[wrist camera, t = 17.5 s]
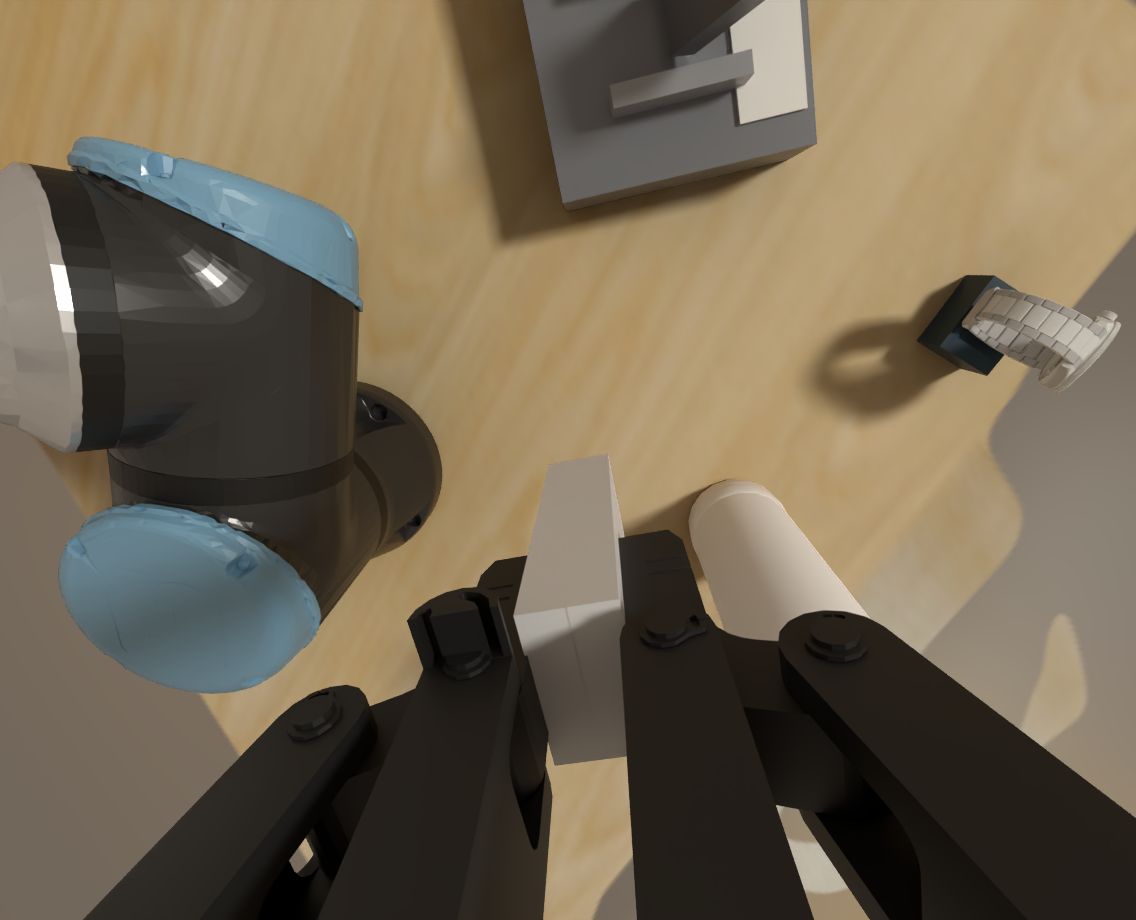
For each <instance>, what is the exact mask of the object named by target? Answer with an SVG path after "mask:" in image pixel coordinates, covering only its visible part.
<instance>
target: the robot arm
mask: <svg viewBox="0 0 1136 920" xmlns="http://www.w3.org/2000/svg"><path fill="white" fill-rule="evenodd" d="M67 161H68V165H70V166H71V169H72V170H74V171H67V170H61V169H55V168H49V167H44V166H38V165H32V164H27V163H20V162H13V163H11V164H10V165H8V166H7V167H6V168H4V169H3V170H1V171H0V423H3V424H7V425H11V426H15V427H17V428H19V429H20V430H22V431H24V432H26V433H28V434H29V435H31V436H33V437H35V438H36V439H38V440H40V441H42V442H43V443H45V444H47V445H49V446H51V447H52V448H54V449H56V450H58V451H60V452H82V451H92V450H102V449H107V454H108V463H109V471H110V483H111V491H112V503H113V504H112V507H111V508H108V509H105V510H103V511H101V512H99V513H97V514H95V515H93V516H91V517H90V518H89V519H87V520H86V521H85V523H84V524H83V525H82V528H81V529H80V531H79V533H78V534H77V535H75V536H74V537H73V538H71V539H70V540H69V541H68V543H67V544H66V546H65V548H64V550H63V552H62V554H61V558H60V562H59V571H58V579H59V586H60V591H61V594H62V597H63V600H64V602H65V605H66V607H67V609H68V611H69V613H70V615H71V617H72V618H73V620H74V621H75V623H76V624H77V626H78V627H79V628H80V629H81V631H82V632H83V633H84V635H85V636H86V637H87V638H88V639H89V640H90V641H91V642H92V643H93V644H94V645H95V646H96V647H97V648H99V649H100V651H102V652H103V653H104V654H105V655H107V656H109V657H111V658H113V659H114V660H116V661H117V662H118V663H120V664H121V665H122V666H123V667H124V668H126V669H127V670H129V671H131V672H133V673H134V674H136V675H138V676H140V677H142V678H145V679H147V680H149V681H152V682H155V683H157V684H160V685H163V686H166V687H170V688H173V689H178V690H182V691H187V692H195V693H209V694H214V693H228V692H235V691H240V690H244V689H247V688H250V687H253V686H256V685H258V684H260V683H261V682H263V681H265V680H267V679H269V678H270V677H272V676H273V675H275V674H277V673H278V672H279V671H280V670H281V669H283V668H284V667H285V666H286V665H287V664H288V663H289V662H290V661H291V660H292V659H293V658H294V657H295V656H296V655H297V654H298V653H299V652H300V651H301V650H302V649H303V648H305V647H306V646H307V645H308V644H309V643H310V642H311V641H312V639H313V638H314V637H315V636H316V635H317V633H316V632H317V631H318V630H319V626H320V625H321V624H322V622H323V621H324V620H325V618H326V617H327V616H328V614H329V613H330V612H331V610H332V609H333V608H334V606H335V605H336V604H337V602H338V601H339V600H340V599H341V597H342V596H343V595H344V593H345V592H346V591H347V589H348V588H349V587H350V585H351V584H352V583H353V581H354V580H355V579H356V578H357V576H358V575H359V574H360V572H361V571H362V570H363V568H364V567H365V566H366V564H367V563H368V562H369V560H370V559H373V558H375V557H378V556H380V555H382V554H385V553H387V552H390V551H392V550H394V549H396V548H398V547H400V546H401V545H403V544H404V543H406V542H407V541H408V540H409V539H411V538H412V537H413V536H414V535H415V534H416V533H417V532H418V531H419V530H420V529H421V527H422V526H423V525H424V523H425V522H426V520H427V519H428V517H429V516H430V514H431V513H432V511H433V509H434V507H435V505H436V503H437V500H438V497H439V494H440V490H441V484H442V466H441V459H440V455H439V451H438V448H437V445H436V443H435V440H434V438H433V436H432V434H431V432H430V431H429V429H428V427H427V426H426V424H425V423H424V422H423V420H422V419H421V418H420V417H419V415H418V414H417V413H416V412H415V411H414V410H413V409H412V408H411V407H410V406H408V405H407V404H406V403H405V402H404V401H402V400H401V399H399V398H398V397H396V396H395V395H393V394H391V393H390V392H388V391H386V390H384V389H381V388H379V387H376V386H374V385H370V384H367V383H362V382H357V364H358V336H359V312H362V311H363V302H362V300H361V298H360V297H359V259H358V244H357V240H356V237H355V235H354V233H353V231H352V229H351V228H350V226H349V225H348V224H347V223H346V222H345V220H344V219H342V218H341V217H340V216H339V215H338V214H336V213H335V212H333V211H332V210H330V209H328V208H326V207H324V206H322V205H320V204H318V203H316V202H313V201H311V200H309V199H306V198H304V197H301V196H298V195H296V194H293V193H290V192H288V191H285V190H282V189H280V188H277V187H274V186H271V185H268V184H265V183H262V182H259V181H256V180H253V179H251V178H247V177H244V176H241V175H238V174H235V173H232V172H229V171H225V170H222V169H219V168H216V167H212V166H209V165H206V164H202V163H198V162H195V161H191V160H188V159H184V158H173V157H171V156H169V155H167V154H163V153H159V152H154V151H151V150H148V149H145V148H142V147H140V146H137V145H133V144H129V143H124V142H120V141H115V140H110V139H105V138H99V137H82V138H80V139H78V140H76V141H75V142H74V145H73V149H72V151H71V152H70V153H69V154H68V155H67ZM407 622H408V625H409V628H410V631H411V634H412V637H413V640H414V643H415V646H416V649H417V651H418V654H419V657H420V660H421V663H422V666H423V669H424V670H423V672H422V674H421V677H420V679H419V681H418V684H417V686H416V688H415V689H413V690H411V691H409V692H407V693H404V694H402V695H399V696H397V697H394V698H391V699H389V700H386V701H383V702H380V703H378V704H375V705H372V706H369V704H368V701H367V698H366V696H365V694H364V693H363V692H362V691H361V690H360V689H359V688H357V687H353V686H349V685H342V686H334V687H329V688H325V689H322V690H321V691H316V692H314V693H311V694H309V695H308V696H307V697H305V698H304V699H302V700H300V701H298V702H297V703H295V704H293V705H292V706H291V707H290V708H289V709H288V710H286V711H285V712H284V713H283V714H282V715H280V716H279V717H278V718H277V719H276V720H275V721H274V722H273V723H272V724H271V725H270V726H269V727H268V729H267V730H266V731H265V732H264V733H263V734H262V735H261V736H260V737H259V738H258V739H257V740H256V741H255V742H254V743H253V744H252V745H251V746H250V747H249V748H248V749H247V750H246V751H245V752H244V753H243V754H242V755H241V756H240V758H239V759H238V760H237V761H236V762H235V763H234V764H233V765H232V766H231V767H230V768H229V769H228V770H227V771H226V772H225V773H224V774H223V775H222V776H221V777H220V778H219V779H218V780H217V781H216V782H215V783H214V785H213V786H212V787H211V788H210V789H209V790H208V791H207V792H206V793H205V794H204V795H203V796H202V797H201V798H200V799H199V800H198V801H197V802H196V803H195V804H194V805H193V806H192V807H191V808H190V810H188V811H187V813H185V815H184V816H183V817H182V818H181V819H180V820H179V821H178V822H177V823H176V824H175V825H174V826H173V827H172V828H171V829H170V830H169V831H168V832H167V833H166V834H165V835H164V836H163V837H162V838H161V839H160V840H159V841H158V843H157V844H156V845H155V846H154V847H153V848H152V849H151V850H150V851H149V852H148V853H147V854H146V855H145V856H144V857H143V858H142V859H141V860H140V861H139V862H138V863H137V865H135V866H134V868H132V869H131V871H130V872H129V873H128V874H127V875H126V876H125V877H124V878H123V879H122V880H121V881H120V882H119V883H118V884H117V885H116V886H115V887H114V888H113V889H112V890H111V891H110V892H109V893H108V894H107V895H106V896H105V897H104V899H103V900H102V901H101V902H100V903H99V904H98V905H97V906H96V907H95V908H94V909H93V910H92V911H91V912H90V913H89V914H88V915H87V916H86V917H85V918H84V919H83V920H543V913H544V900H545V887H546V874H547V861H548V848H549V835H550V822H551V809H552V790H551V783H550V780H549V776H548V773H547V769H546V766H545V764H546V754H547V744H548V743H549V746H550V750H551V754H552V757H553V761H554V764H555V765H563V764H571V763H579V762H586V761H594V760H602V759H610V758H618V757H625V756H627V767H628V783H629V799H630V815H631V831H632V847H633V863H634V879H635V895H636V910H637V920H814V918H813V915H812V912H811V909H810V906H809V903H808V900H807V897H806V894H805V891H804V888H803V885H802V882H801V879H800V876H799V873H798V870H797V867H796V864H795V861H794V858H793V855H792V852H791V849H790V846H789V843H788V840H787V837H786V834H785V831H784V828H783V825H782V822H781V819H780V816H779V813H778V810H777V807H776V805H779V806H785V807H790V808H796V809H799V811H800V813H801V816H802V818H803V820H804V822H805V823H806V825H807V826H808V828H809V829H810V831H811V832H812V834H813V835H814V837H815V838H816V840H817V841H818V843H819V844H820V846H821V847H822V849H823V850H824V852H825V853H826V855H827V856H828V858H829V859H830V861H831V862H832V864H833V865H834V867H835V868H836V870H837V871H838V873H839V874H840V876H841V877H842V879H843V880H844V882H845V883H846V885H847V886H848V888H849V889H850V891H851V892H852V894H853V895H854V897H855V898H856V900H857V901H858V903H859V904H860V906H861V907H862V909H863V910H864V911H865V913H866V915H867V916H868V917H869V919H870V920H1136V818H1135V817H1134V816H1132V815H1131V814H1130V813H1128V812H1127V811H1126V810H1124V809H1123V808H1122V807H1121V806H1119V805H1118V804H1116V803H1115V802H1114V801H1113V800H1111V799H1110V798H1109V797H1107V796H1106V795H1105V794H1103V793H1102V792H1101V791H1100V790H1098V789H1097V788H1096V787H1094V786H1093V785H1092V784H1090V783H1089V782H1088V781H1086V780H1085V779H1083V778H1082V777H1081V776H1080V775H1078V774H1077V773H1076V772H1074V771H1073V770H1072V769H1071V768H1069V767H1068V766H1067V765H1065V764H1064V763H1062V762H1061V761H1060V760H1059V759H1057V758H1056V757H1055V756H1054V755H1052V754H1051V753H1050V752H1048V751H1047V750H1046V749H1044V748H1043V747H1042V746H1040V745H1039V744H1038V743H1036V742H1035V741H1034V740H1032V739H1031V738H1030V737H1029V736H1027V735H1026V734H1025V733H1023V732H1022V731H1021V730H1019V729H1018V728H1017V727H1015V726H1014V725H1013V724H1011V723H1010V722H1009V721H1008V720H1006V719H1005V718H1004V717H1002V716H1001V715H999V714H998V713H997V712H996V711H994V710H993V709H992V708H990V707H989V706H988V705H986V704H985V703H984V702H983V701H981V700H980V699H979V698H977V697H976V696H975V695H973V694H972V693H971V692H969V691H968V690H967V689H965V688H964V687H963V686H962V685H960V684H959V683H958V682H956V681H955V680H954V679H952V678H951V677H950V676H948V675H947V674H946V673H944V672H943V671H942V670H940V669H939V668H938V667H936V666H935V665H934V664H932V663H931V662H930V661H928V660H927V659H926V658H924V657H923V656H922V655H921V654H919V653H918V652H917V651H916V650H914V649H913V648H912V647H910V646H909V645H908V644H906V643H905V642H904V641H902V640H901V639H900V638H898V637H897V636H896V635H894V634H893V633H892V632H891V631H889V630H888V629H887V628H885V627H884V626H882V625H880V624H879V623H877V622H875V621H873V620H871V619H869V618H868V617H865V616H862V615H858V614H854V613H850V612H846V611H831V610H822V611H816V612H810V613H804V614H802V615H800V616H798V617H796V618H794V619H792V620H790V621H788V622H787V623H786V625H785V626H784V627H783V628H782V629H781V630H780V632H779V640H778V641H770V640H756V639H749V638H742V637H739V636H736V635H733V634H730V633H727V632H725V631H724V630H722V629H720V628H718V627H717V626H716V625H715V623H714V622H713V621H712V619H711V618H710V616H709V615H708V614H706V612H705V608H704V605H703V602H702V599H701V596H700V593H699V590H698V587H697V584H696V581H695V578H694V575H693V571H692V568H691V565H690V562H689V559H688V556H687V553H686V550H685V547H684V544H683V541H682V539H680V538H679V537H678V536H676V535H675V534H673V533H672V532H670V531H669V530H663V531H657V532H651V533H645V534H640V535H634V536H628V537H624V531H623V526H622V521H621V516H620V511H619V506H618V501H617V496H616V491H615V486H614V481H613V476H612V471H611V466H610V461H609V456H608V454H603V455H598V456H592V457H587V458H582V459H576V460H571V461H565V462H560V463H555V464H549V466H548V471H547V475H546V479H545V483H544V488H543V492H542V496H541V500H540V505H539V509H538V513H537V517H536V522H535V526H534V530H533V534H532V539H531V543H530V547H529V552H528V555H527V556H521V557H515V558H509V559H503V560H498V561H495V562H494V563H493V564H492V565H491V566H490V567H489V568H488V569H487V570H486V571H485V572H484V573H483V574H482V575H481V577H480V580H479V582H478V585H477V587H473V588H461V589H457V590H454V591H450V592H446V593H444V594H441V595H439V596H437V597H435V598H433V599H431V600H429V601H427V602H426V603H425V604H423V605H422V606H420V607H419V608H418V609H416V610H415V611H414V613H413V614H412V615H411V616H410V618H409V619H408V620H407ZM305 838H306V839H307V841H308V843H309V845H310V848H311V850H312V852H313V854H314V855H313V856H312V858H311V859H310V861H309V862H308V863H307V864H306V865H305V866H304V867H303V868H302V869H301V870H300V871H299V872H298V873H296V872H294V870H293V868H292V866H291V864H290V862H289V860H290V858H291V857H292V856H293V854H294V853H295V851H296V850H297V849H298V847H299V846H300V845H301V843H302V842H303V840H304V839H305Z"/></svg>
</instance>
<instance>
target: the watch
mask: <svg viewBox="0 0 1136 920" xmlns="http://www.w3.org/2000/svg"><path fill="white" fill-rule="evenodd" d="M1044 301H1045V302H1044ZM1059 310H1060V311H1059ZM1051 311H1052V312H1051ZM1058 311H1059V312H1058ZM1050 312H1051V313H1050ZM1057 312H1058V313H1057ZM1048 315H1049V316H1048ZM1047 316H1048V317H1047ZM1046 317H1047V318H1046ZM1116 317H1117V315H1116V314H1114V313H1113V312H1110V311H1103V312H1102V313H1101V314H1100V315H1099V316H1095V317H1093V318H1091V319H1089V318H1088V317H1086V316H1084V315H1082V314H1079V312H1077V311H1074V310H1072V309H1070V308H1068V307H1065V306H1063V305H1061V304H1059V303H1056V302H1053V301H1051V300H1048V299H1047V300H1046V299H1044V298H1041V297H1038V296H1034V295H1029V294H1027V293H1023V292H1019V291H1017V290H1016V289H1014V288H1013V287H1011V286H1010V285H1008V284H1007V283H1005V282H1004V281H1002V280H1000V279H999V278H997V277H996V276H987V275H966V277H965V278H964V279H963V281H962V282H961V283H960V285H959V286H958V287H957V289H956V290H955V291H954V293H953V294H952V295H951V296H950V298H949V299H948V300H947V302H946V303H945V304H944V306H943V307H942V308H941V310H940V311H939V312H938V314H937V315H936V316H935V318H934V319H933V320H932V322H931V323H930V324H929V326H928V327H927V328H926V329H925V331H924V332H923V333H922V335H921V336H920V337H919V339H918V340H917V341H918V342H919V343H921V344H922V345H924V346H926V347H927V348H929V349H930V350H932V351H934V352H935V353H937V354H938V355H940V356H942V357H943V358H945V359H946V360H948V361H950V362H951V363H953V364H954V365H956V366H958V367H959V368H961V369H964V370H968V371H972V372H975V373H979V374H983V375H986V376H987V375H988V374H989V373H990V372H991V371H992V369H993V368H994V367H995V366H996V364H997V363H998V362H999V361H1000V360H1001V358H1002V357H1003V356H1004V355H1006V356H1007V355H1008V354H1009V353H1010V354H1009V355H1008V357H1010V358H1012V359H1014V360H1016V361H1018V362H1021V361H1022V360H1023V361H1022V362H1021V363H1023V364H1025V365H1027V366H1029V367H1031V368H1035V369H1037V370H1039V371H1040V372H1039V373H1038V377H1039V379H1038V380H1039V382H1040V383H1041V384H1042V385H1044V386H1047V387H1048V388H1050V389H1052V391H1054V392H1056V393H1059V392H1061V391H1062V390H1064V389H1066V388H1067V387H1068V386H1070V385H1071V384H1072V383H1073V382H1074V381H1076V380H1077V379H1078V378H1079V377H1080V376H1081V375H1082V374H1083V373H1084V372H1085V371H1086V370H1087V369H1088V368H1089V367H1090V366H1091V365H1092V364H1093V363H1094V362H1095V361H1096V360H1097V359H1098V358H1099V357H1100V356H1101V355H1102V353H1103V352H1104V351H1105V349H1106V348H1107V347H1108V346H1109V344H1110V343H1111V342H1112V340H1113V339H1114V338H1115V336H1116V335H1117V333H1118V331H1119V329H1120V326H1121V324H1120V323H1118V322H1113V321H1114V320H1115V318H1116ZM1045 318H1046V319H1045ZM1043 321H1044V322H1043ZM1042 322H1043V323H1042ZM1041 323H1042V324H1041ZM1040 324H1041V325H1040ZM1039 326H1040V327H1039ZM1038 327H1039V328H1038ZM1037 328H1038V329H1037ZM1036 329H1037V330H1036ZM1032 340H1033V341H1032ZM1031 341H1032V342H1031ZM1030 342H1031V343H1030ZM1029 343H1030V344H1029ZM1027 346H1028V347H1027ZM1026 347H1027V348H1026ZM1025 348H1026V349H1025ZM1024 349H1025V350H1024ZM1011 350H1012V351H1011ZM1010 351H1011V352H1010ZM1023 351H1024V352H1023ZM1022 352H1023V353H1022ZM1021 353H1022V354H1021Z"/></svg>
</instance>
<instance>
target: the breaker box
mask: <svg viewBox="0 0 1136 920" xmlns="http://www.w3.org/2000/svg"><path fill="white" fill-rule="evenodd" d="M523 4H524V9H525V14H526V19H527V24H528V29H529V34H530V39H531V44H532V50H533V55H534V60H535V65H536V70H537V75H538V80H539V85H540V90H541V95H542V101H543V106H544V111H545V116H546V121H547V126H548V131H549V136H550V141H551V146H552V152H553V157H554V162H555V167H556V172H557V177H558V182H559V187H560V192H561V197H562V203H563V205H564V207H565V209H566V211H571V210H576V209H580V208H584V207H588V206H593V205H597V204H601V203H606V202H610V201H614V200H618V199H623V198H627V197H631V196H636V195H640V194H644V193H648V192H653V191H657V190H661V189H665V188H670V187H674V186H678V185H683V184H687V183H691V182H695V181H700V180H704V179H708V178H713V177H717V176H721V175H725V174H730V173H734V172H738V171H742V170H747V169H751V168H755V167H760V166H764V165H768V164H772V163H777V162H781V161H785V160H788V159H790V158H792V157H794V156H796V155H797V154H799V153H801V152H803V151H804V150H806V149H808V148H810V147H811V146H813V145H815V144H817V137H816V123H815V108H814V93H813V79H812V64H811V50H810V35H809V20H808V6H807V0H765V1H764V2H762V3H761V4H760V5H758V6H757V7H756V8H754V9H753V10H752V11H750V12H749V13H748V14H747V15H745V16H744V17H743V18H741V19H740V20H739V21H737V22H736V23H735V24H734V25H732V26H731V27H730V28H728V29H727V30H726V31H724V32H723V33H722V34H720V35H719V36H718V37H717V38H715V39H714V40H713V41H711V42H710V43H709V44H707V45H706V46H705V47H703V48H702V49H701V50H700V51H698V52H697V53H696V54H694V55H686V56H676V57H670V50H669V42H668V35H667V27H666V20H665V12H664V5H663V0H523Z"/></svg>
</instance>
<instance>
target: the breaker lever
mask: <svg viewBox="0 0 1136 920" xmlns="http://www.w3.org/2000/svg"><path fill="white" fill-rule="evenodd" d="M764 1H765V0H663V5H664V12H665V20H666V27H667V35H668V42H669V50H670V57H676V56H686V55H694V54H696V53H697V52H698V51H700V50H701V49H702V48H703V47H705V46H706V45H707V44H709V43H710V42H711V41H713V40H714V39H715V38H717V37H718V36H719V35H720V34H722V33H723V32H724V31H726V30H727V29H728V28H730V27H731V26H732V25H734V24H735V23H736V22H737V21H739V20H740V19H741V18H743V17H744V16H745V15H747V14H748V13H749V12H750V11H752V10H753V9H754V8H756V7H757V6H758V5H760V4H761V3H762V2H764Z"/></svg>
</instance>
